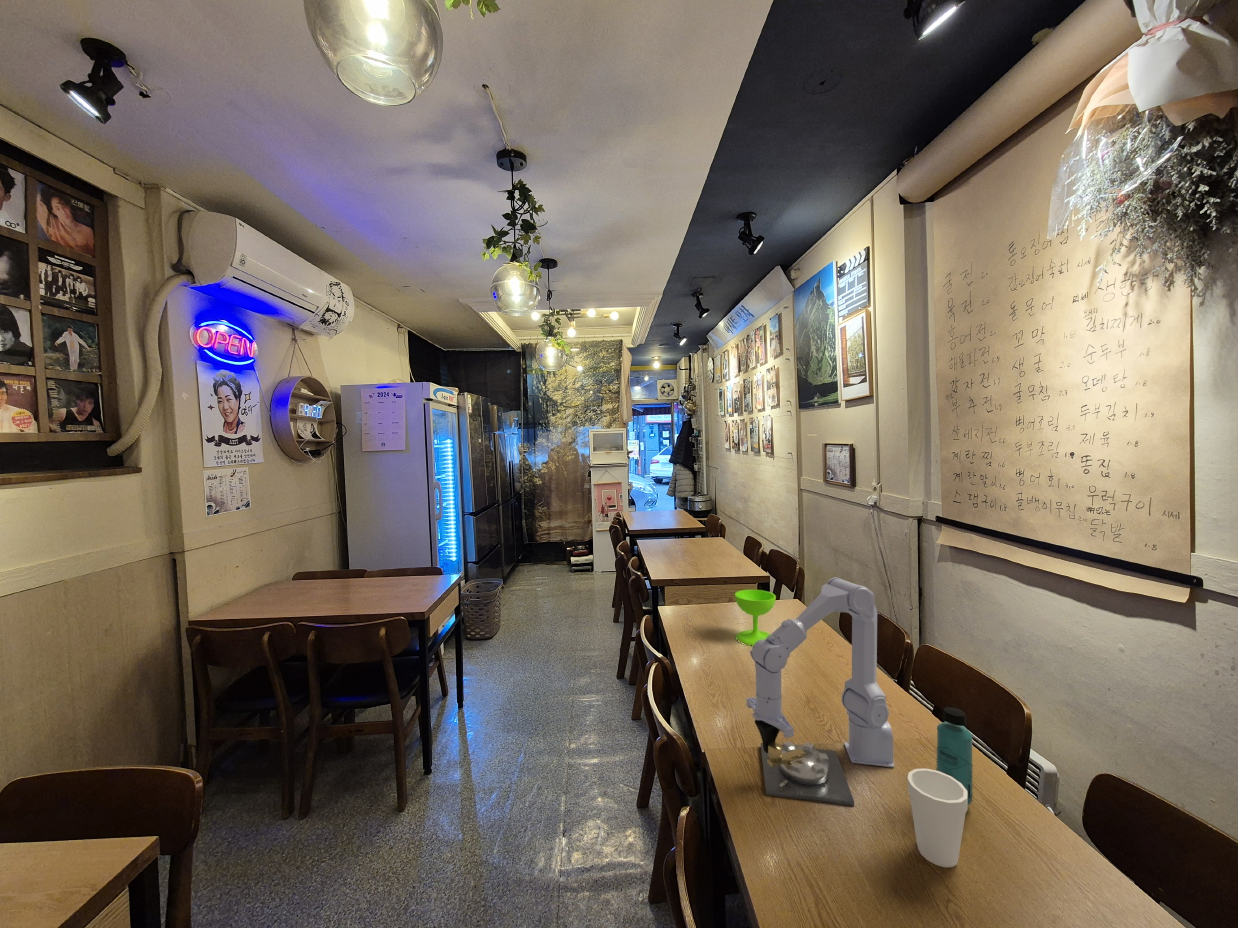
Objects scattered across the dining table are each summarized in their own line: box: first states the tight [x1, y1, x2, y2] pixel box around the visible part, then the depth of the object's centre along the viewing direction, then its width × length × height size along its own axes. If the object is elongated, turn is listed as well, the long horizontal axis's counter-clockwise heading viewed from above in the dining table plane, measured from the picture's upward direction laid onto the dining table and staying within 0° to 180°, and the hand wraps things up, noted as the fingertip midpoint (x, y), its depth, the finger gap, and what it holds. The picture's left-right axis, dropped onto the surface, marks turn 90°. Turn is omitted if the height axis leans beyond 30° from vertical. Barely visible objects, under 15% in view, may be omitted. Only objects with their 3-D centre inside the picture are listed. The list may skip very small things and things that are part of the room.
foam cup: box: [906, 768, 969, 868], centre depth 90 cm, size 10×9×13 cm
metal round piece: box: [767, 741, 829, 785], centre depth 113 cm, size 15×11×7 cm
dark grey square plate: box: [760, 742, 855, 807], centre depth 114 cm, size 18×18×1 cm
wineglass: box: [734, 589, 777, 647], centre depth 196 cm, size 16×16×18 cm
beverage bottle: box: [935, 706, 974, 806], centre depth 103 cm, size 6×7×20 cm
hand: (769, 751), depth 113 cm, fingers closed
